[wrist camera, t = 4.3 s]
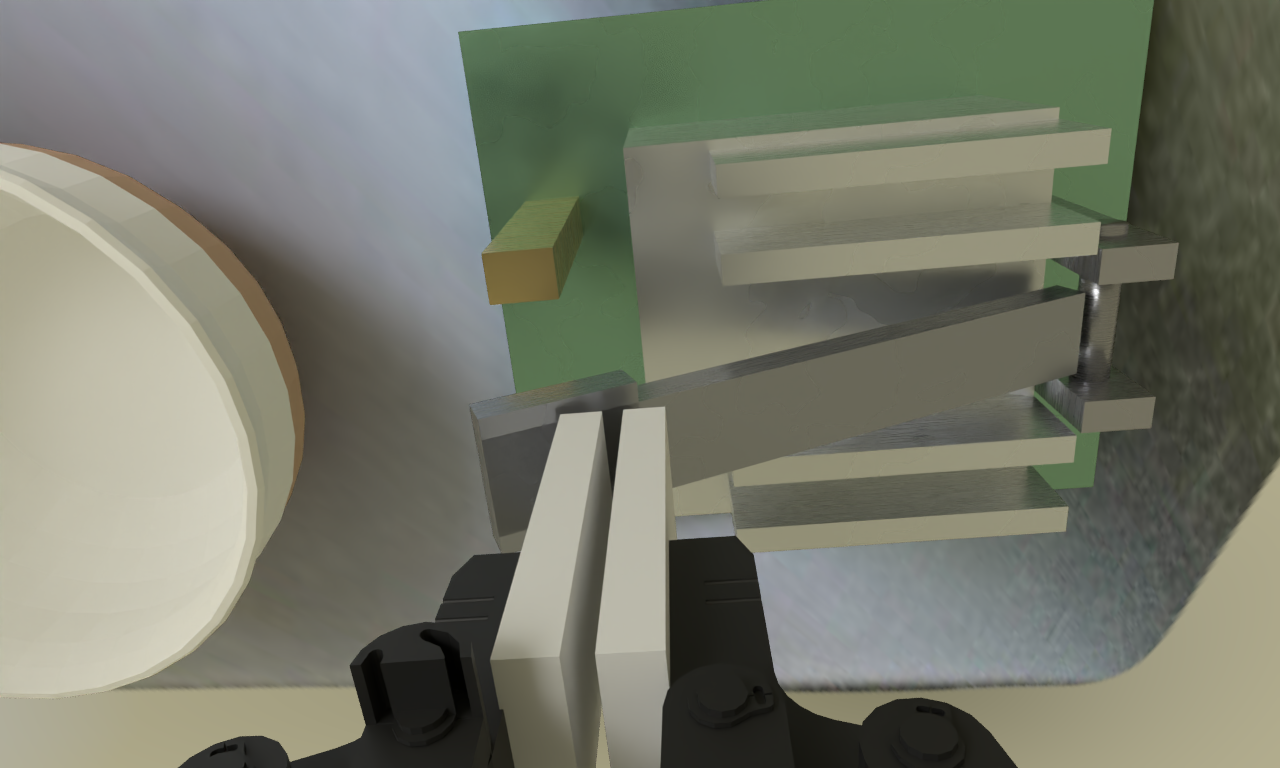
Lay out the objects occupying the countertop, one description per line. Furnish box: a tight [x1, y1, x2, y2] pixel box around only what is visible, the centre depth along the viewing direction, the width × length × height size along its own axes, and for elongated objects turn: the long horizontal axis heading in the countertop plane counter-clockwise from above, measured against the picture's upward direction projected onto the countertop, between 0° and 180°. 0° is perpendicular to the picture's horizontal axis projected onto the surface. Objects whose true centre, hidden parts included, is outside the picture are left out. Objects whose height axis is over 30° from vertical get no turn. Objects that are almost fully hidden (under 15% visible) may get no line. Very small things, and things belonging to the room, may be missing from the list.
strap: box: [469, 285, 1085, 553], centre depth 18 cm, size 14×3×1 cm, turn 96°
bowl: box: [0, 143, 305, 699], centre depth 25 cm, size 16×16×8 cm
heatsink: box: [458, 0, 1179, 553], centre depth 23 cm, size 19×16×9 cm
